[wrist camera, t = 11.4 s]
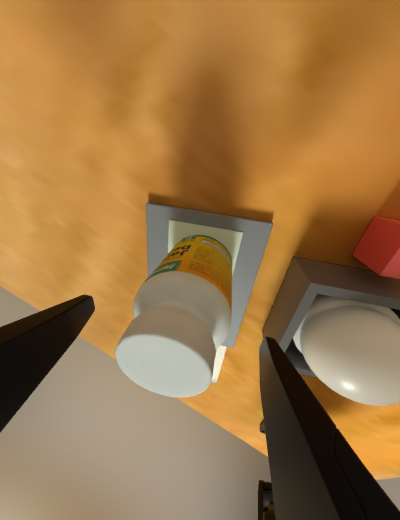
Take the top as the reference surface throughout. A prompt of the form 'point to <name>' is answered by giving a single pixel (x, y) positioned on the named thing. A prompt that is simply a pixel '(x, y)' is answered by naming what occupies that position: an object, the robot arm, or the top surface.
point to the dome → (353, 349)
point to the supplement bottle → (180, 319)
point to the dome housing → (337, 285)
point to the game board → (226, 230)
